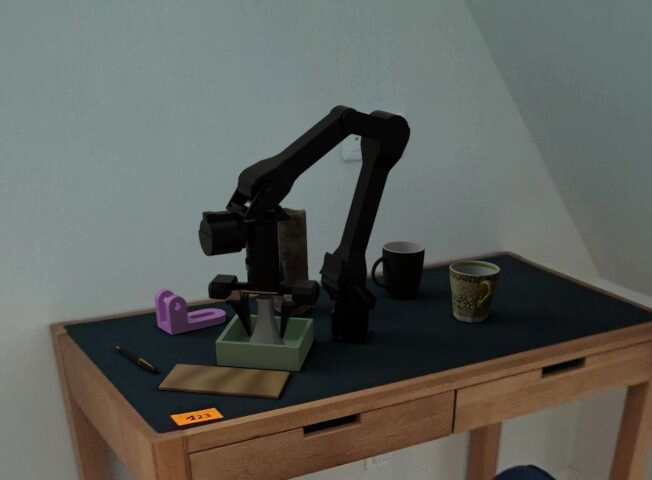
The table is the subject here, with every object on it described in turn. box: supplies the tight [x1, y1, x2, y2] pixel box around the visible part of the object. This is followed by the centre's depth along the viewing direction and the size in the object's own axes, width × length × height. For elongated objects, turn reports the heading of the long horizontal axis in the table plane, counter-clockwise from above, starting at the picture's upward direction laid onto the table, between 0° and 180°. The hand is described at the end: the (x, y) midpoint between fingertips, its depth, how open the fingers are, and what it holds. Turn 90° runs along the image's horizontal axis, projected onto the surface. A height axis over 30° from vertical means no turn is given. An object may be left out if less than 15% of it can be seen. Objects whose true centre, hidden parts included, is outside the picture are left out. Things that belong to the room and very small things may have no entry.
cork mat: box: [158, 363, 291, 399], centre depth 145 cm, size 20×10×1 cm, turn 83°
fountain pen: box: [115, 345, 157, 373], centre depth 151 cm, size 14×1×2 cm, turn 41°
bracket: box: [154, 288, 227, 336], centre depth 166 cm, size 13×6×7 cm, turn 129°
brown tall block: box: [273, 207, 311, 317], centre depth 170 cm, size 8×7×20 cm
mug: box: [370, 240, 426, 300], centre depth 183 cm, size 12×9×10 cm
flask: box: [249, 294, 285, 345], centre depth 154 cm, size 7×7×10 cm
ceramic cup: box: [449, 260, 501, 324], centre depth 171 cm, size 13×10×10 cm
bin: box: [215, 313, 314, 372], centre depth 155 cm, size 15×15×4 cm
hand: (266, 336), depth 155 cm, fingers open, 6 cm apart
